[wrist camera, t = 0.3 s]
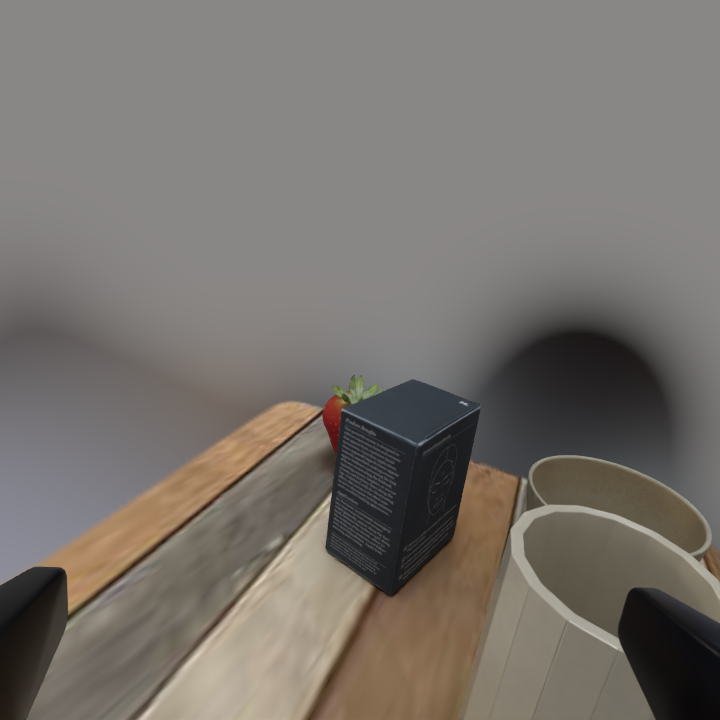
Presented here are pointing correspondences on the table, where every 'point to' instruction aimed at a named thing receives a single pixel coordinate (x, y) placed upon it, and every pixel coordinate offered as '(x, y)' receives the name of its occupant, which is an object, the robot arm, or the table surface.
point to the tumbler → (573, 616)
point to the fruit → (343, 406)
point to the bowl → (619, 498)
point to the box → (399, 480)
